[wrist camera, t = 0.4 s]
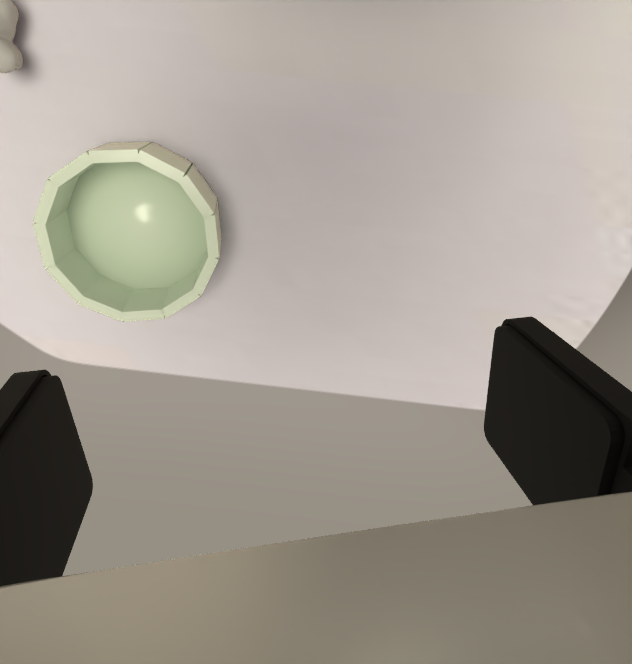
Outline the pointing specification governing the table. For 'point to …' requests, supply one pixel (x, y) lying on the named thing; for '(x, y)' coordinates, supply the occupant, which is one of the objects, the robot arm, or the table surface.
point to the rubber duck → (8, 37)
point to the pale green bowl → (129, 231)
